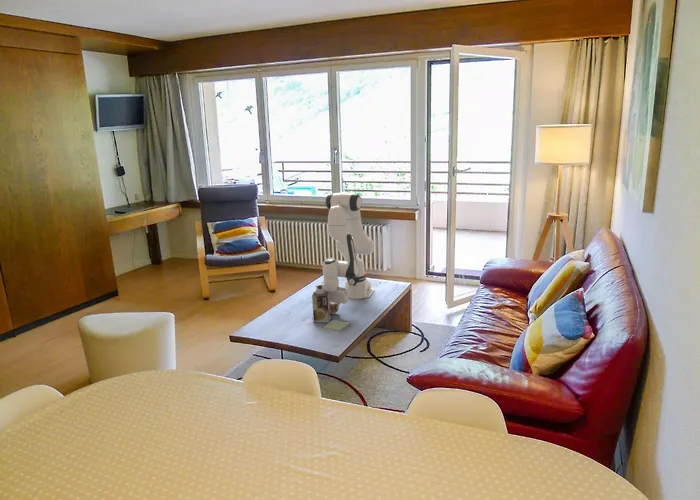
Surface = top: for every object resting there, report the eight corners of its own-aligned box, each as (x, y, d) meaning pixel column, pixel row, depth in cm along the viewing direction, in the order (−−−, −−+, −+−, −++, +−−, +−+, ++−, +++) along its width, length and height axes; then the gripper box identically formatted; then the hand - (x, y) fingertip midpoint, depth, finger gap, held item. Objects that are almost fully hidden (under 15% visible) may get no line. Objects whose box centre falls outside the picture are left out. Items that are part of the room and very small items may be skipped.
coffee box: (330, 317, 289) (329, 291, 285) (329, 322, 283) (327, 295, 279) (315, 317, 290) (313, 291, 286) (313, 322, 284) (311, 295, 279)
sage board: (333, 321, 283) (333, 319, 283) (348, 324, 279) (348, 322, 279) (323, 328, 274) (323, 327, 274) (339, 331, 270) (339, 330, 269)
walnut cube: (330, 309, 298) (330, 301, 296) (338, 310, 295) (337, 302, 294) (326, 312, 293) (326, 304, 292) (334, 313, 291) (333, 305, 290)
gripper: (349, 286, 288) (350, 308, 292) (319, 282, 297) (320, 304, 301) (344, 290, 283) (345, 312, 286) (313, 285, 292) (314, 307, 296)
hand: (332, 308), depth 294 cm, fingers closed on walnut cube, 5 cm apart
